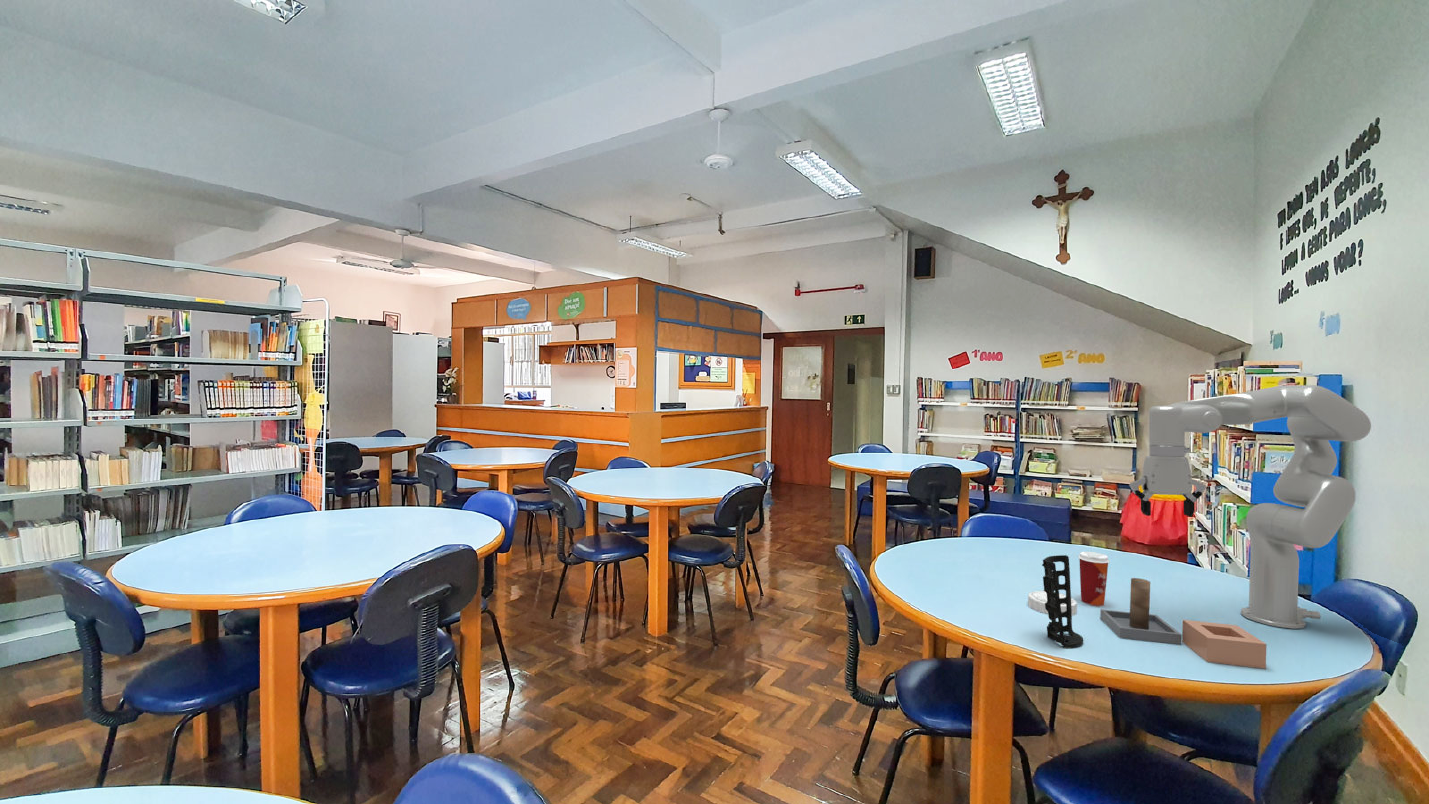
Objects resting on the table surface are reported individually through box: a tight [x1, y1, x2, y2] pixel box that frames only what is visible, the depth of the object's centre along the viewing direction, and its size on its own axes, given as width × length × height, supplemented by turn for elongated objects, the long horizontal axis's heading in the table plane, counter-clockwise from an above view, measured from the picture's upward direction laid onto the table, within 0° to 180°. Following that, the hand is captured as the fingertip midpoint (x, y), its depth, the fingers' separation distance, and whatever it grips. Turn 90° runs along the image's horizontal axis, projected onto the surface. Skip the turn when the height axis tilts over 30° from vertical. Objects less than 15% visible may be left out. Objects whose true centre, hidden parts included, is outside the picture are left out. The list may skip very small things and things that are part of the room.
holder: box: [1041, 554, 1084, 649], centre depth 142 cm, size 11×8×20 cm
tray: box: [1099, 609, 1183, 646], centre depth 148 cm, size 13×13×2 cm
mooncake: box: [1027, 590, 1078, 616], centre depth 163 cm, size 12×12×4 cm
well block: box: [1181, 619, 1267, 670], centre depth 135 cm, size 11×11×6 cm
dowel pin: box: [1129, 577, 1151, 630], centre depth 148 cm, size 4×4×12 cm
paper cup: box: [1077, 551, 1110, 607], centre depth 169 cm, size 8×8×14 cm
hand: (1167, 515), depth 155 cm, fingers open, 9 cm apart
